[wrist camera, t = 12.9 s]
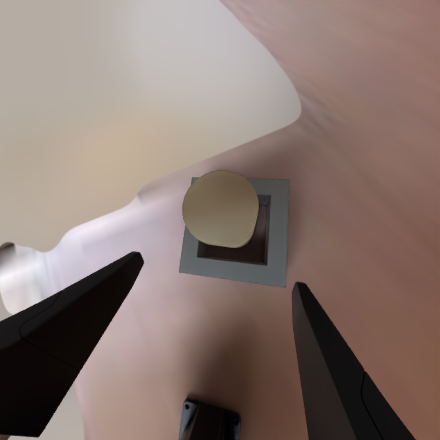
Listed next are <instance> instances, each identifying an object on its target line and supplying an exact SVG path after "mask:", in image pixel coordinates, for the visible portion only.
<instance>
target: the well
mask: <svg viewBox="0 0 440 440" xmlns="http://www.w3.org/2000/svg"><path fill="white" fill-rule="evenodd" d="M197 179H198V178H195V177H192V181H191V185H192V184H193V183H194V182H195V181H196V180H197ZM247 180H248V181H249V182H250V183H251V185H252V186H253V188H254V189H255V191H256V194H257V197H258V202H259V205H267V216H266V233H265V251H264V263H260V262H252V261H243V260H235V259H226V258H218V257H209V256H206V253H207V244H206V243H204V242H202V241H200V240H198V239H197V238H196V237H194V236H193V235H192V234H191V232H190V231H189V230H188V228H187V226H186V224H185V231H184V238H183V245H182V253H181V260H180V267H179V273H186V274H193V275H200V276H207V277H214V278H221V279H228V280H235V281H242V282H250V283H257V284H264V285H271V286H278V287H285V288H286V267H287V237H288V208H289V180H288V179H247Z"/></svg>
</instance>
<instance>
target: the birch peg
mask: <svg viewBox="0 0 440 440" xmlns="http://www.w3.org/2000/svg"><path fill="white" fill-rule="evenodd" d="M258 209H259V202H258V197H257V194H256V191H255V189H254V188H253V186H252V185H251V183H250V182H249V181H248V180H247V179H246V178H244V177H243V176H241V175H240V174H237V173H235V172H232V171H225V170H220V171H213V172H210V173H207V174H205V175H203V176H201V177H200V178H198V179H197V180H196V181H195V182H194V183H193V184H192V185H191V186H190V188H189V189H188V191H187V193H186V195H185V197H184V201H183V208H182V212H183V219H184V222H185V224H186V226H187V228H188V230H189V231H190V232H191V234H192V235H193V236H194V237H196V238H197V239H198V240H200V241H202V242H204V243H206V244H210V245H216V246H224V247H231V248H241V247H244V246H246V245H247V244H248V243H249V242H250V241H251V239H252V237H253V233H254V228H255V224H256V220H257V216H258Z"/></svg>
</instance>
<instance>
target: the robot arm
mask: <svg viewBox="0 0 440 440" xmlns="http://www.w3.org/2000/svg"><path fill="white" fill-rule="evenodd" d="M143 264H144V260H143V258H142V256H141V253H140V252H135V251H133V252H131V253H129V254H127V255H125V256H124V257H122V258H120V259H118V260H116V261H114V262H113V263H111V264H109V265H107V266H105V267H103V268H102V269H100V270H98V271H96V272H94V273H92V274H91V275H89V276H87V277H85V278H83V279H81V280H80V281H78V282H76V283H74V284H72V285H70V286H69V287H67V288H65V289H63V290H61V291H59V292H58V293H56V294H54V295H52V296H50V297H48V298H46V299H45V300H43V301H41V302H39V303H37V304H35V305H33V306H31V307H29V308H27V309H25V310H23V311H21V312H19V313H17V314H15V315H13V316H10V317H8V318H6V319H4V320H2V321H0V440H8V438H9V437H10V436H25V437H39V436H40V435H41V433H42V432H43V430H44V429H45V427H46V426H47V424H48V423H49V421H50V419H51V418H52V416H53V414H54V413H55V411H56V410H57V408H58V406H59V405H60V403H61V402H62V400H63V398H64V397H65V395H66V394H67V392H68V390H69V389H70V387H71V385H72V384H73V382H74V381H75V379H76V377H77V376H78V374H79V373H80V370H81V369H82V368H83V366H84V364H85V363H86V361H87V359H88V358H89V356H90V355H91V353H92V351H93V350H94V348H95V347H96V345H97V343H98V342H99V340H100V338H101V337H102V335H103V334H104V332H105V330H106V329H107V327H108V326H109V324H110V322H111V321H112V319H113V318H114V316H115V314H116V313H117V311H118V309H119V308H120V306H121V305H122V303H123V301H124V300H125V298H126V297H127V295H128V293H129V292H130V290H131V288H132V286H133V285H134V283H135V281H136V279H137V277H138V275H139V273H140V271H141V269H142V267H143ZM292 317H293V331H294V338H295V345H296V352H297V359H298V366H299V373H300V380H301V387H302V394H303V401H304V408H305V415H306V422H307V429H308V436H309V440H416V439H415V438H414V437H413V436H412V434H411V433H410V432H409V430H408V429H407V428H406V426H405V425H404V424H403V422H402V421H401V420H400V418H399V417H398V416H397V414H396V413H395V412H394V410H393V409H392V408H391V406H390V405H389V404H388V402H387V401H386V399H385V398H384V397H383V395H382V394H381V392H380V391H379V390H378V388H377V387H376V385H375V384H374V382H373V381H372V379H371V378H370V377H369V375H368V374H367V372H365V371H364V368H363V366H362V365H361V363H360V362H359V361H358V359H357V358H356V356H355V355H354V353H353V352H352V350H351V349H350V347H349V346H348V345H347V343H346V342H345V340H344V339H343V337H342V336H341V334H340V333H339V331H338V330H337V328H336V327H335V326H334V324H333V323H332V321H331V320H330V318H329V317H328V315H327V314H326V312H325V311H324V309H323V308H322V307H321V305H320V304H319V302H318V301H317V299H316V298H315V296H314V295H313V293H312V292H311V291H310V289H309V288H308V286H307V285H306V284H305V283H303V282H296V283H295V285H294V288H293V290H292ZM186 404H188V405H189V406H187V405H186ZM235 419H237V420H238V421H235ZM240 429H241V417H240V415H239V414H238V413H236V412H232V411H229V410H226V409H222V408H219V407H216V406H212V405H209V404H206V403H202V402H199V401H196V400H192V399H189V398H187V399H186V400H185V401H184V403H183V408H182V417H181V425H180V433H179V440H240Z"/></svg>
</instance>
